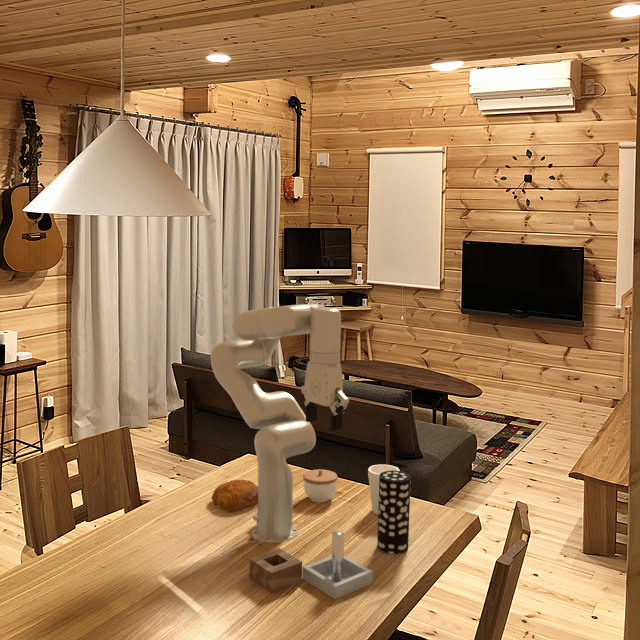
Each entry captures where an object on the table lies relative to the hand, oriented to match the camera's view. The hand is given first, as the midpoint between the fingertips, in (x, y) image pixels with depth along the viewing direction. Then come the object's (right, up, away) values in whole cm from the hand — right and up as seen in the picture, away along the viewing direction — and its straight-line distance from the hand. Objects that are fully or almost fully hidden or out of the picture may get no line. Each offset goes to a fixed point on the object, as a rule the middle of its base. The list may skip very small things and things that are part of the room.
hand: (323, 425), depth 178 cm
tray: (+3, -38, -6) cm, 38 cm away
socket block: (-12, -37, -6) cm, 39 cm away
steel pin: (+3, -37, -6) cm, 37 cm away
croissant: (-27, -31, +43) cm, 59 cm away
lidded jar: (-1, -30, +47) cm, 56 cm away
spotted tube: (+19, -35, +15) cm, 42 cm away
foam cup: (+18, -32, +39) cm, 53 cm away
